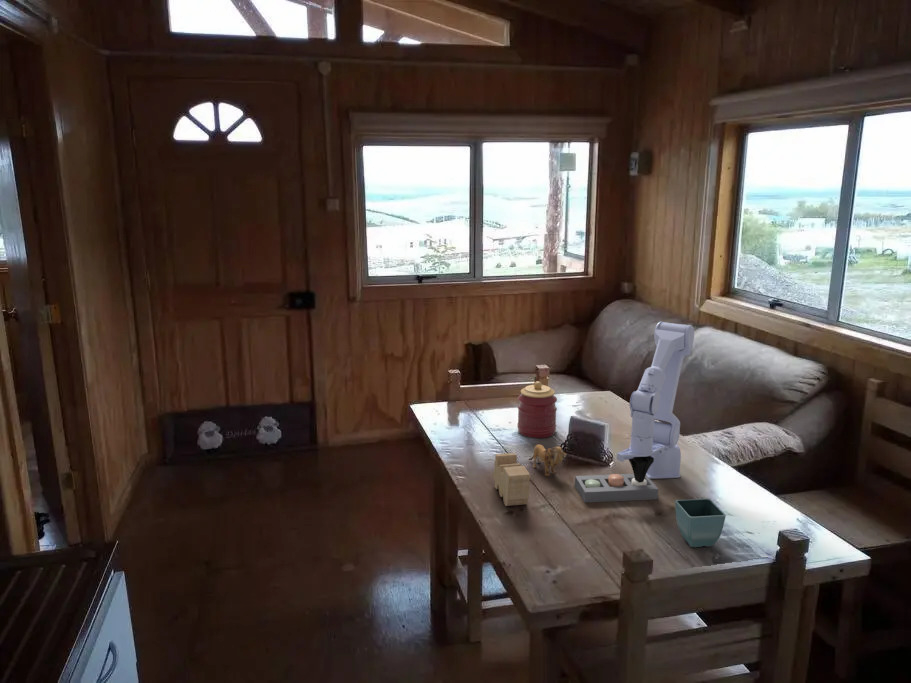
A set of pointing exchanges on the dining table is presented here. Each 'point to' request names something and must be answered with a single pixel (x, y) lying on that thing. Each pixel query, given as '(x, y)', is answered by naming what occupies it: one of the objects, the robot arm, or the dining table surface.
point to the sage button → (592, 483)
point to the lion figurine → (548, 457)
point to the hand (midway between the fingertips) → (639, 480)
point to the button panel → (615, 489)
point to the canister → (537, 411)
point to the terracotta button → (615, 480)
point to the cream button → (636, 483)
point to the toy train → (511, 479)
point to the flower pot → (699, 521)
